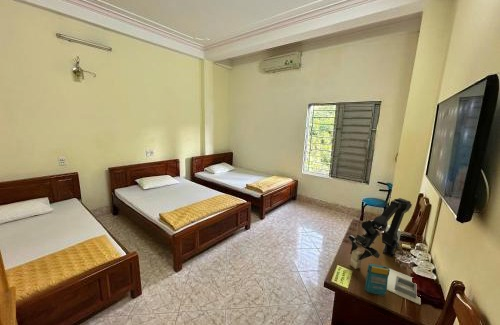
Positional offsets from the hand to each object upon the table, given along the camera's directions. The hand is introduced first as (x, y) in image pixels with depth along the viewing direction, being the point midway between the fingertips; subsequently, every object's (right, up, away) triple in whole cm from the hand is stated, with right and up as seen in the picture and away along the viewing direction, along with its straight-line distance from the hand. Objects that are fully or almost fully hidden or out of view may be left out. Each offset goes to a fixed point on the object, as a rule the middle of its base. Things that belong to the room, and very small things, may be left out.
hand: (354, 256), depth 128 cm
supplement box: (+41, -3, +28) cm, 50 cm away
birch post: (+1, -7, +2) cm, 7 cm away
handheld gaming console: (+2, -11, -17) cm, 21 cm away
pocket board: (+21, -10, -12) cm, 26 cm away
